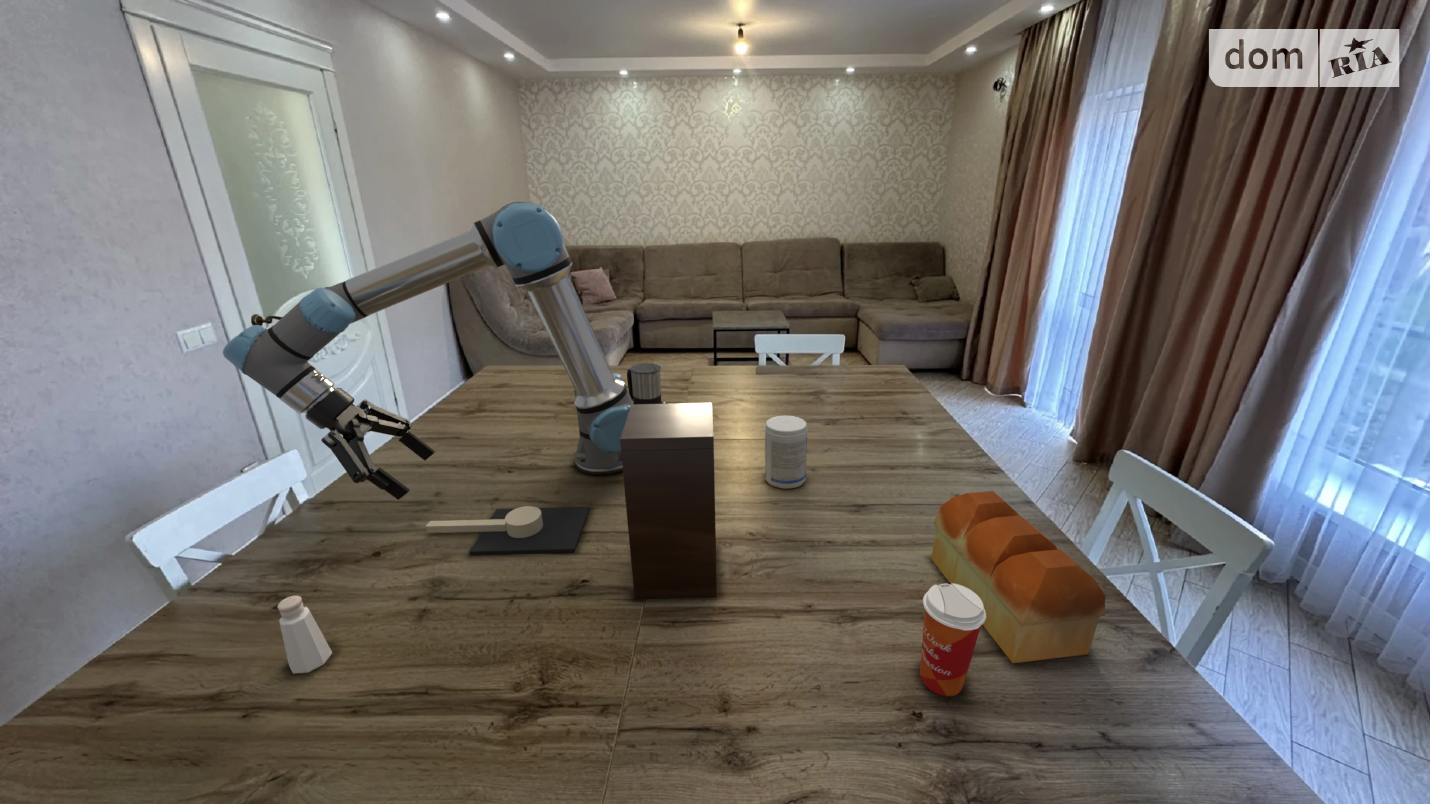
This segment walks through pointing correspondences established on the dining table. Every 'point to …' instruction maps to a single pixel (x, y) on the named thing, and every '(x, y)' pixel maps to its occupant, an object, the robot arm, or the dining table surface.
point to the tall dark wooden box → (670, 499)
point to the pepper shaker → (302, 637)
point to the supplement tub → (785, 451)
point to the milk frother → (644, 383)
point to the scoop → (495, 524)
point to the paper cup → (949, 636)
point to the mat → (553, 537)
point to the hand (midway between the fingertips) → (418, 474)
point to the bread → (1017, 579)
